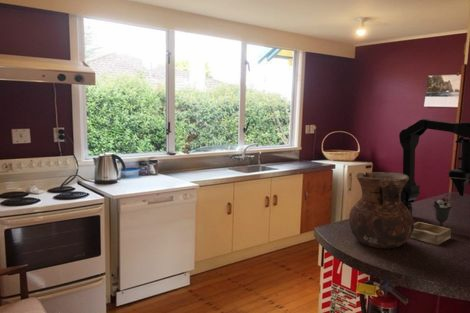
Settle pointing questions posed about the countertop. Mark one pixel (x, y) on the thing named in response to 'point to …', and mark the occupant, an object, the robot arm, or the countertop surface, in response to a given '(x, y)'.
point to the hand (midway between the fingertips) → (467, 194)
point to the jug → (381, 211)
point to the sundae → (442, 210)
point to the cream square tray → (430, 233)
